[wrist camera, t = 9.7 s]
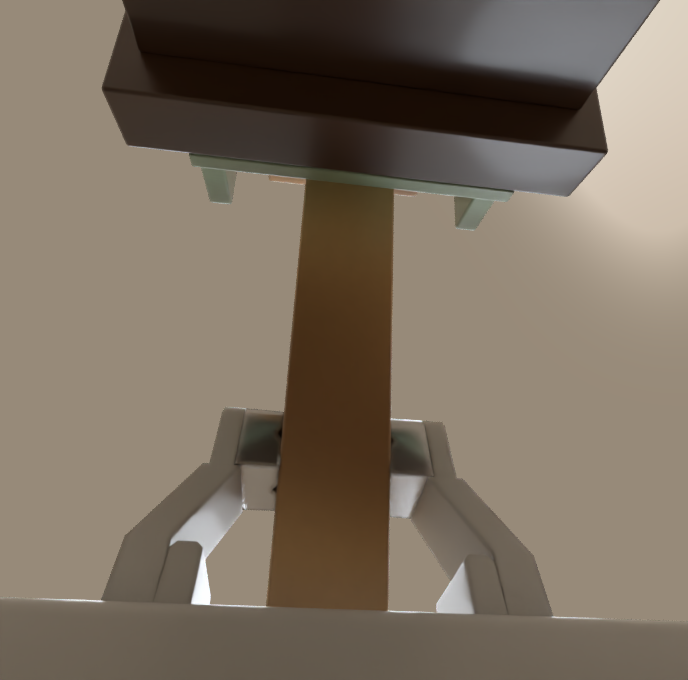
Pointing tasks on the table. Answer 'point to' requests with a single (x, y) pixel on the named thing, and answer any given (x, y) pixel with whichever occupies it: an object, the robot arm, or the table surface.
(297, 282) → the brush
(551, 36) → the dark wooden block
